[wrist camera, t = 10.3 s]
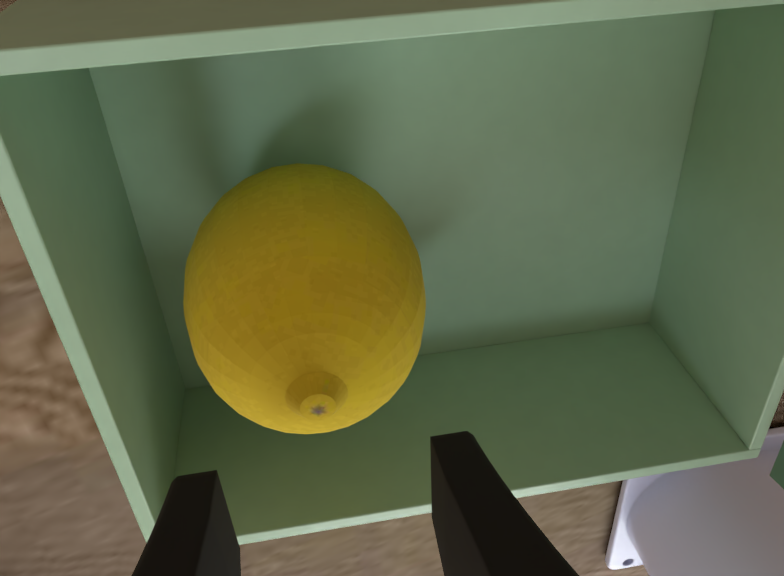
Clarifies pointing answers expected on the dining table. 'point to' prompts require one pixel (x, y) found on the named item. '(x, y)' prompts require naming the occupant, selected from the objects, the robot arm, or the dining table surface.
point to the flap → (779, 468)
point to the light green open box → (418, 228)
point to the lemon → (304, 299)
